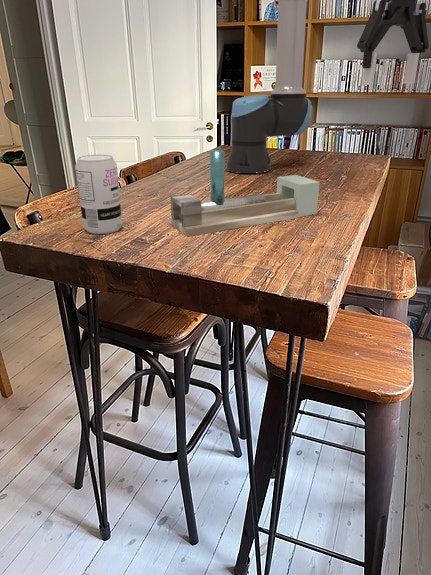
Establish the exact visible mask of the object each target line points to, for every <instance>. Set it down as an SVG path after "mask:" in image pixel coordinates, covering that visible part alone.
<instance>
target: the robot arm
mask: <svg viewBox="0 0 431 575" xmlns="http://www.w3.org/2000/svg"><path fill="white" fill-rule="evenodd" d="M277 3H278V6H277V29H276V30H277V34H276V59H275V60H276V61H275V63H276V64H275V86H274V89H273V90H271V92H270V97H269V95H268V94H256V95H255V94H253V95H246V96H242V97H239V98H236V99H235V100H234V101H233V102H232V108H231V147H230V151H229V154H228V157H227V160H226V163H225V165H226V166H225V169H227V170H229V171H233V172H240V173H256V172H264V171H267V170H270V169H271V170H272V163H271V158H270V156H269V151H268V147H267V143H268V142H267V141H268V138H269V137H270V138H273V137H285V136H287V137H294V136H299V135H302V134H303V133H305V132H306V130H307V129H308V128H309V126H310V124H311V122H312V118H313V112H314V111H313V106H312V102H311V100H310V99H309V98H307V92H306V90H305V89H304V88H303V78H304V77H303V75H304V74H303V71H304V60H305V59H304V56H305V55H304V54H305V40H306V39H305V37H306V22H307V21H306V20H307V3H308V0H277ZM426 9H427V3H426V2H421V3H420V2H419V3H417V0H374V2H373V5H372V10H371V14H370V16H369V18H368V20H367V23H366V25H365V26H364V29H363V31H362V34H361V35H360V37H359V40H358V42H357V44H356V48H357V49H358V50H360V53H363V57H362V69H363V71H362V78H361V85H363V86H373V85H374V77H375V71H376V63H377V55H378V52H377V51H376V49H377V47H378V46H379V44H380V43H381V41H382V40H383V39H384V37H385V35H386V34H387V33H388V31H389V29H390V28H391V27H393V26H395V27H400V28H401V29H402V31H403V33H404V36H405V38H406V42H407V44H408V48H409V50H410V52H409V53H407V56H406V63H405V70H404V76H403V80H402V83H403V85H404V84H406V85H414V84H415V83H416V82H415V81H416V77H417V71H418V68H419V65H420V58H421V54H422V53H423V54H424V53H426V51H427V50H428V49H429V47H430V45H429V36H428V26H427V19H426V18H427V17H426V12H427V10H426ZM375 51H376V52H375ZM227 170H226V171H227ZM229 171H228V172H229Z"/></svg>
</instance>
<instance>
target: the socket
mask: <svg viewBox="0 0 431 575" xmlns="http://www.w3.org/2000/svg"><path fill="white" fill-rule="evenodd" d="M276 178H277V180H276V193H280V194H281V200H282V199H289V198H293V199H295V210H296V211H298V218H300V217H306V216H312V214H313V215H317V214H318V203H319V192H320V181H319V180H318V181H317V180H314V179H312V178H308V177H305V176H301V175H298V174H292V175H285V176H277V177H276Z"/></svg>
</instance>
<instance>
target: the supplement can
mask: <svg viewBox="0 0 431 575" xmlns="http://www.w3.org/2000/svg"><path fill="white" fill-rule="evenodd" d="M76 159H77V160H76V163H75V165H74V166H75V168H74V169H75V175H76V183H77V190H78V197H79V206H80V211H81V212H80V213H81V219H82V220H81V221H82V227H83V229H84V230H86V232H88V233H90V234H94V235H105V234H106V235H107V234H112V233H115V232H118V231H119V230H120V229H121V228H122V226H123V224H124V223H123V217H122V216H123V215H122V204H121V203H122V202H121V197H120V196H121V195H120V185H119V176H118V166H117V165H118V164H117V162H116V161H115V159H114V158H113V155H110V154H86V155H82V156H77V158H76Z"/></svg>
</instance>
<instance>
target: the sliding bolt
mask: <svg viewBox="0 0 431 575" xmlns="http://www.w3.org/2000/svg"><path fill="white" fill-rule="evenodd" d="M209 154H210V155H209V162H210V163H209V165H210V166H209V168H210V169H209V170H210V171H209V172H210V174H209V176H210V187H209V188H210V200H205V201H201V206H202V211H207V210H213V209H220V208H227V207H234V206H241V205H248V204H255V203H262V202H266V198H265V196H264V194H263V193H258V194H252V195H243V196H237V197H235V196H234V197H230V198H225V169H226V166H225V165H226V163H225V156H226V155H225V154H226V153H225V150H224V149H223V150H221V149H217V150H216V149H213V150H210V151H209ZM179 216H180V219H181V220H182V213H181V207H180V206H179Z"/></svg>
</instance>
